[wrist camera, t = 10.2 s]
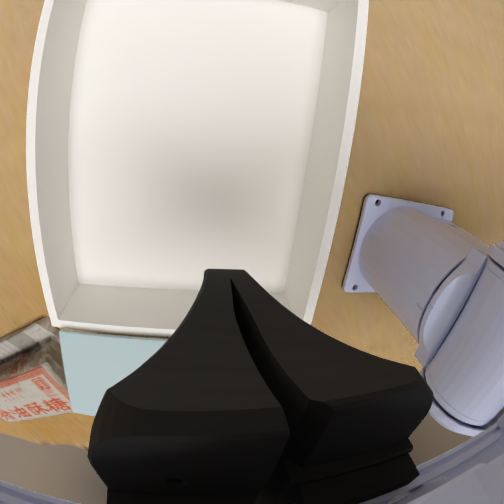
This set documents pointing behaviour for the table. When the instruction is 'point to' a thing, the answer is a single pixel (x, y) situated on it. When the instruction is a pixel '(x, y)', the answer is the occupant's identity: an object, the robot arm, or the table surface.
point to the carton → (187, 151)
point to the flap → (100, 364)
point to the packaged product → (32, 373)
